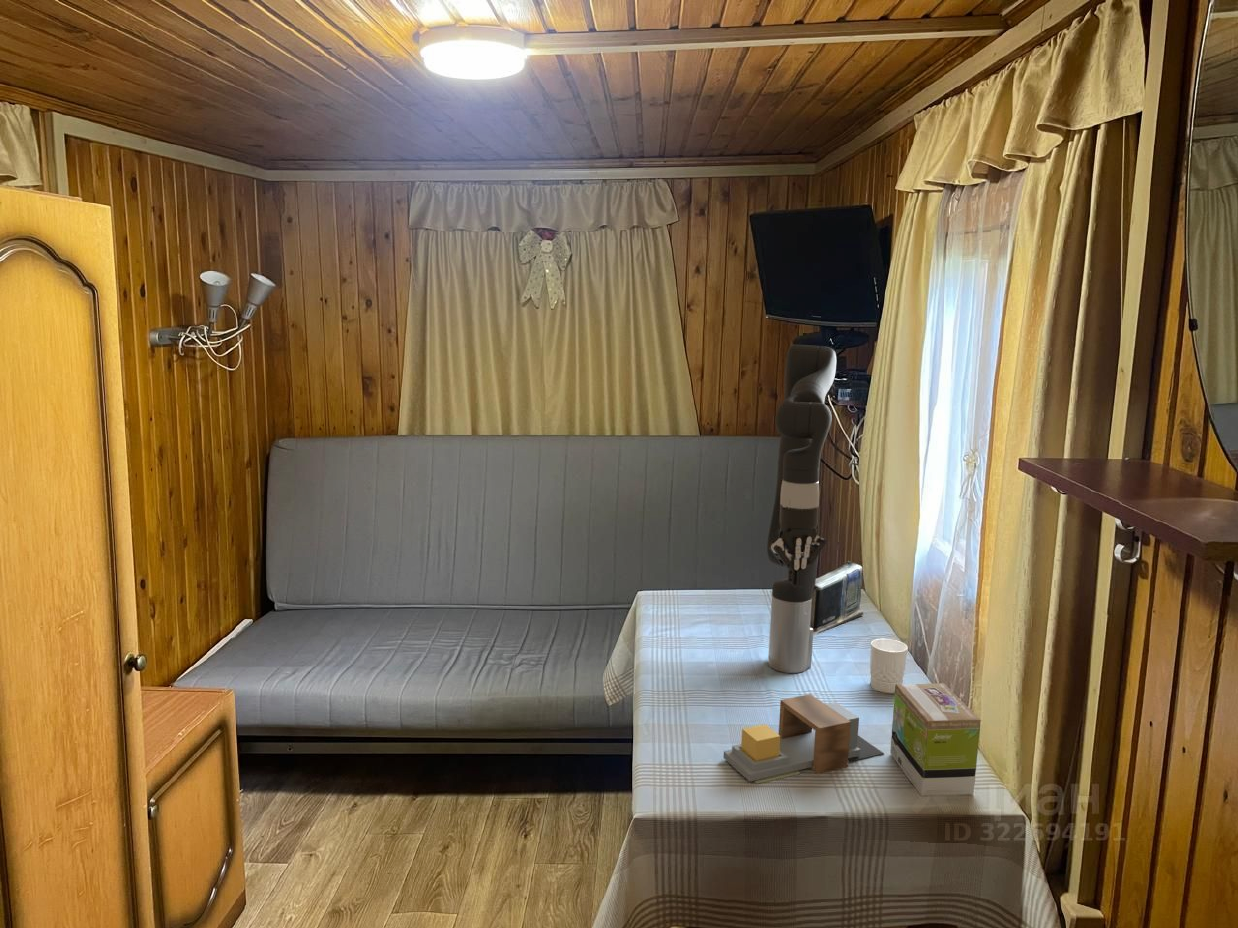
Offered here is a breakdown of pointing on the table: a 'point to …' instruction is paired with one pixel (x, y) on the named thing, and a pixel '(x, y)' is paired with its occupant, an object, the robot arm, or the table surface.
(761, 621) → the table surface
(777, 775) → the mat
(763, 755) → the block
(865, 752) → the mat
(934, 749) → the tea box
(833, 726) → the tunnel
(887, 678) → the white cup
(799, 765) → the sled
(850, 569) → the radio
